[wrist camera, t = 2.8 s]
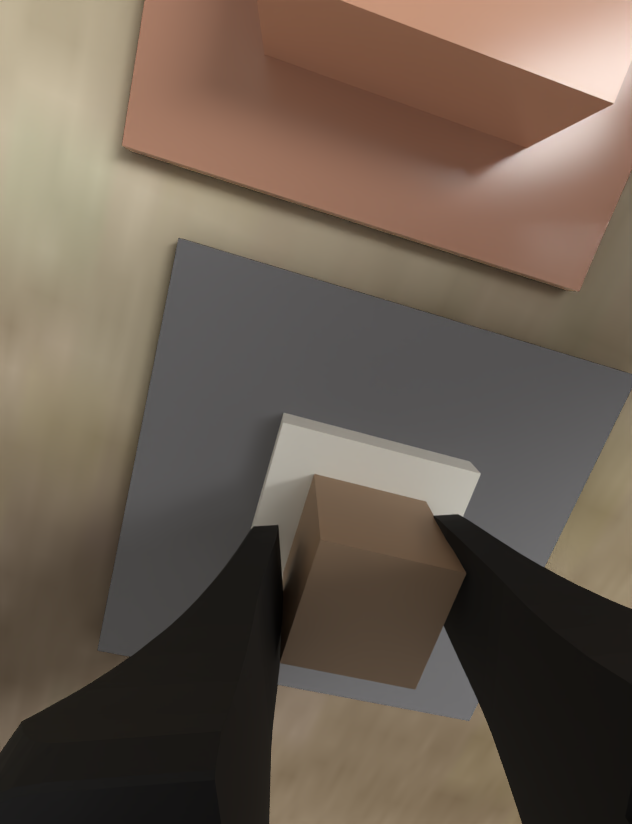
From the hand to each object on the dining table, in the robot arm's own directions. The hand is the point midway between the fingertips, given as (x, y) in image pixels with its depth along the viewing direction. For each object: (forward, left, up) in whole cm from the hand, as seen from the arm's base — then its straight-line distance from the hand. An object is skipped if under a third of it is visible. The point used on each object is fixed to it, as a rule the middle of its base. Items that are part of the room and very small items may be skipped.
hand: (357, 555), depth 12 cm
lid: (0, 0, -2) cm, 2 cm away
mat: (0, 0, -2) cm, 2 cm away
